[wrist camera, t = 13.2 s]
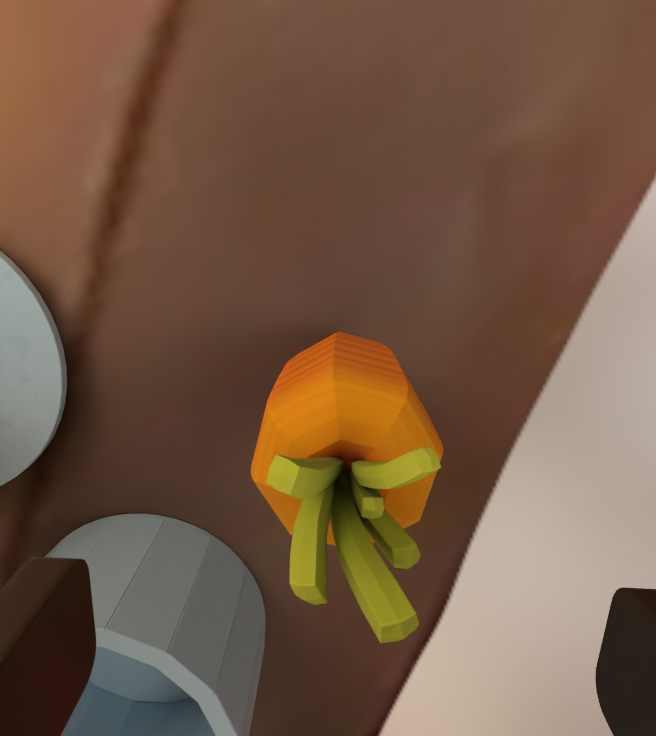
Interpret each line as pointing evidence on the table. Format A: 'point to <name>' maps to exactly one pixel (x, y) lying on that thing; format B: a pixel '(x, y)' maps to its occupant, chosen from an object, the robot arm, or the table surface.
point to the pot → (167, 630)
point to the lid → (27, 372)
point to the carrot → (349, 472)
